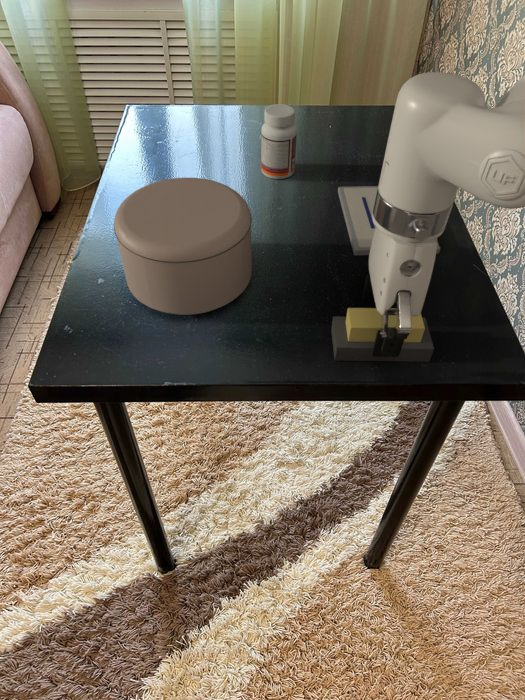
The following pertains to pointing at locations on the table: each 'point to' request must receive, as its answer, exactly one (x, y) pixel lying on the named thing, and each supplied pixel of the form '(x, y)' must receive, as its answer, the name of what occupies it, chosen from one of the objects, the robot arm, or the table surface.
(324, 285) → the table surface
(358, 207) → the whiteboard
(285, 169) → the pill bottle
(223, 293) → the container
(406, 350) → the eraser
